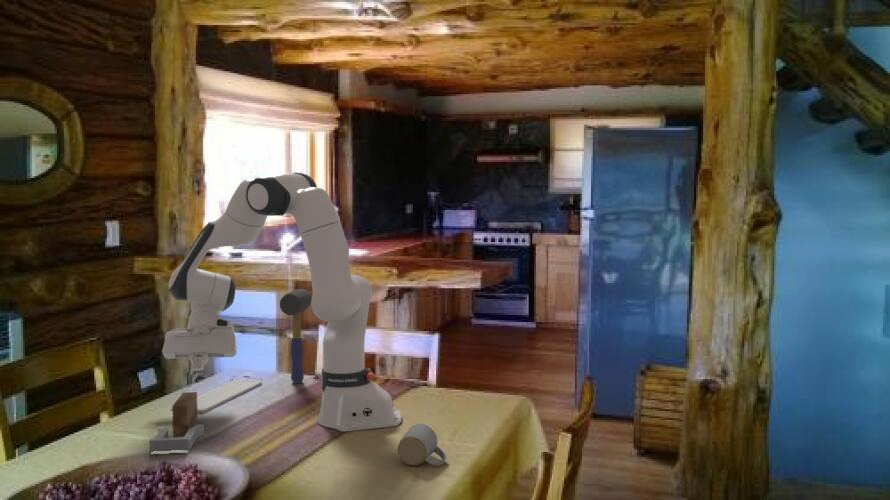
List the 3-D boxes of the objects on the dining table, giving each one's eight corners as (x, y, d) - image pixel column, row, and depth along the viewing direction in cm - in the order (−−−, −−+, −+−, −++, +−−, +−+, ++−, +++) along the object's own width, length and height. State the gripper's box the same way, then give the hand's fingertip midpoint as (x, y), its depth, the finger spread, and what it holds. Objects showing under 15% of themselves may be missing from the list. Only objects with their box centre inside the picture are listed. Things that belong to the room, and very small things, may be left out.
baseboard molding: (166, 411, 205) (202, 415, 202) (166, 401, 205) (202, 405, 202) (229, 383, 235) (262, 386, 231) (229, 374, 235) (262, 377, 231)
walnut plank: (197, 421, 196) (196, 392, 195) (188, 436, 184) (187, 405, 183) (183, 421, 195) (182, 392, 194) (173, 437, 183) (172, 406, 182)
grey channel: (204, 433, 185) (204, 420, 185) (193, 453, 172) (193, 438, 172) (158, 435, 184) (158, 422, 184) (144, 455, 170) (143, 441, 170)
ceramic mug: (395, 465, 164) (396, 433, 164) (406, 453, 172) (407, 421, 172) (440, 471, 162) (441, 438, 161) (449, 458, 170) (450, 426, 169)
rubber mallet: (302, 388, 227) (300, 293, 224) (279, 387, 228) (277, 292, 225) (314, 377, 239) (313, 287, 236) (292, 377, 240) (291, 287, 237)
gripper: (164, 323, 209) (156, 364, 201) (237, 321, 212) (232, 362, 203) (168, 335, 214) (161, 376, 205) (239, 333, 217) (235, 374, 208)
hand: (197, 369), depth 204 cm, fingers closed
